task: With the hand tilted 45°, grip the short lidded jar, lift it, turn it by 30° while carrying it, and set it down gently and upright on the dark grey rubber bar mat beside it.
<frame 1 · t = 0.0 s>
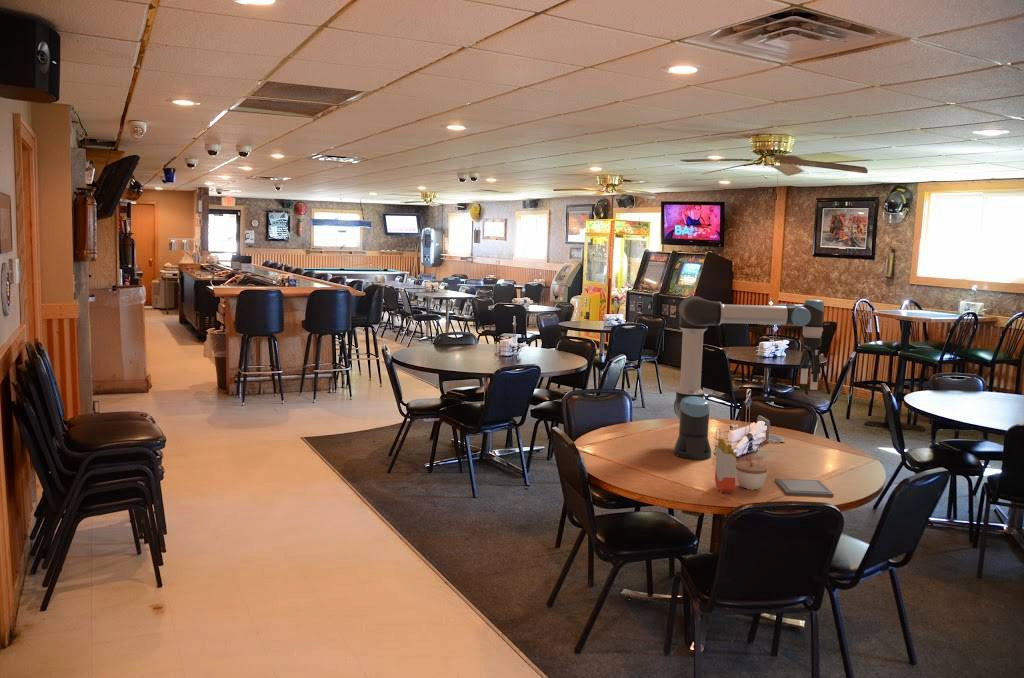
hand: (808, 386, 327), 28 cm above the table, tool pointing down, fingers open, 13 cm apart
lidded jar: (750, 487, 279), on the table
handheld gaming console: (770, 440, 349), on the table
bar mat: (803, 488, 278), on the table
french fries container: (724, 491, 274), on the table
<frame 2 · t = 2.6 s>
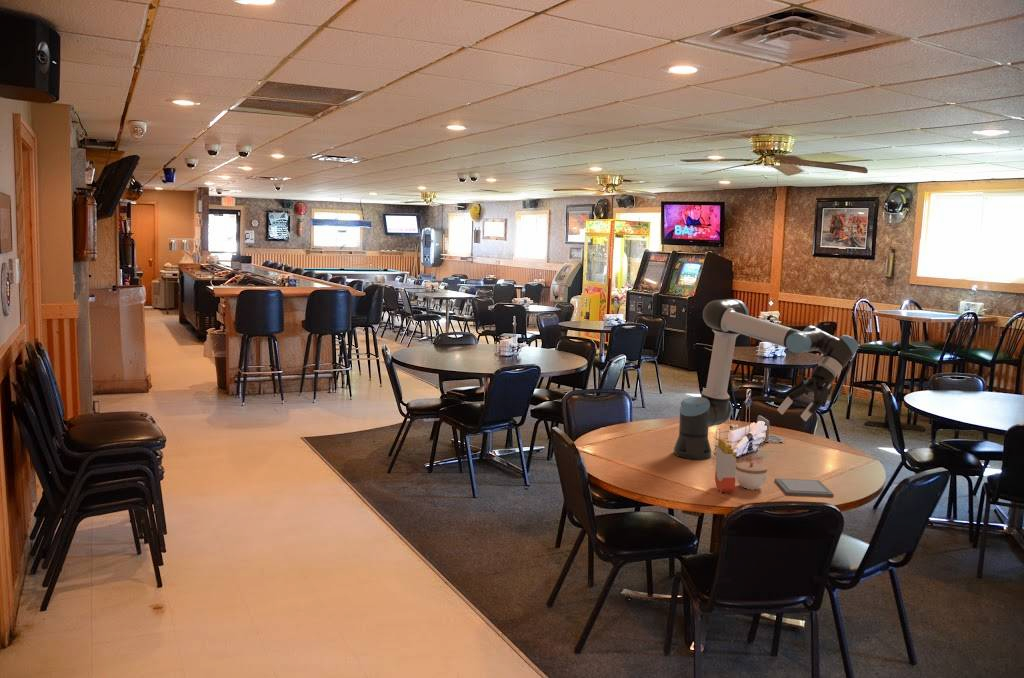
hand: (791, 415, 281), 26 cm above the table, tool tilted 45°, fingers open, 13 cm apart
nothing on the table moved.
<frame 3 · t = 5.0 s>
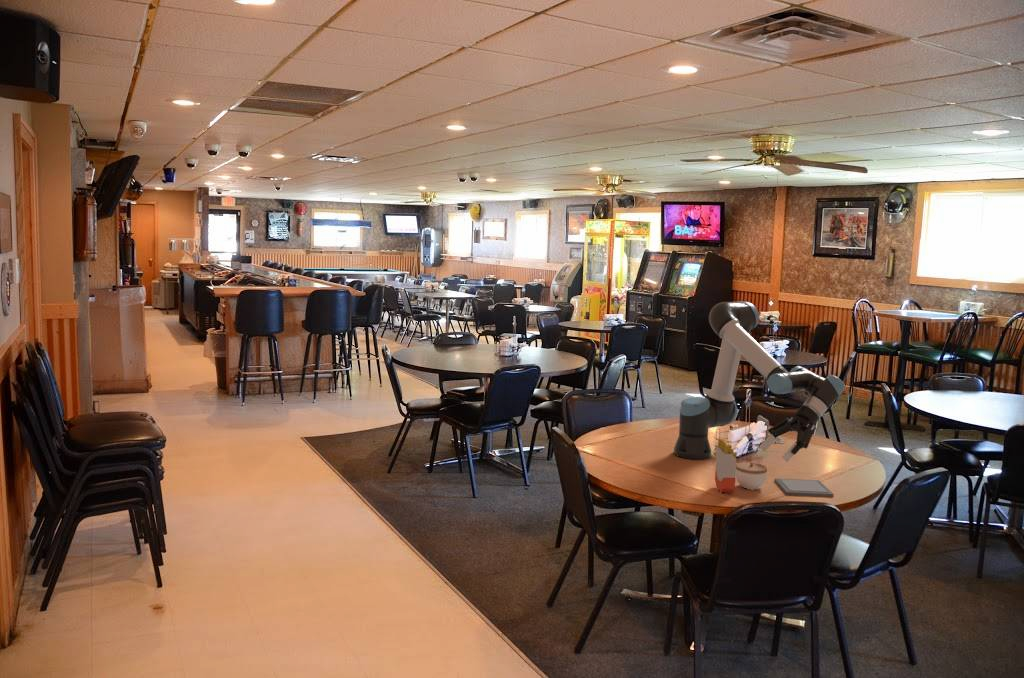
hand: (773, 454, 278), 12 cm above the table, tool tilted 45°, fingers open, 13 cm apart
nothing on the table moved.
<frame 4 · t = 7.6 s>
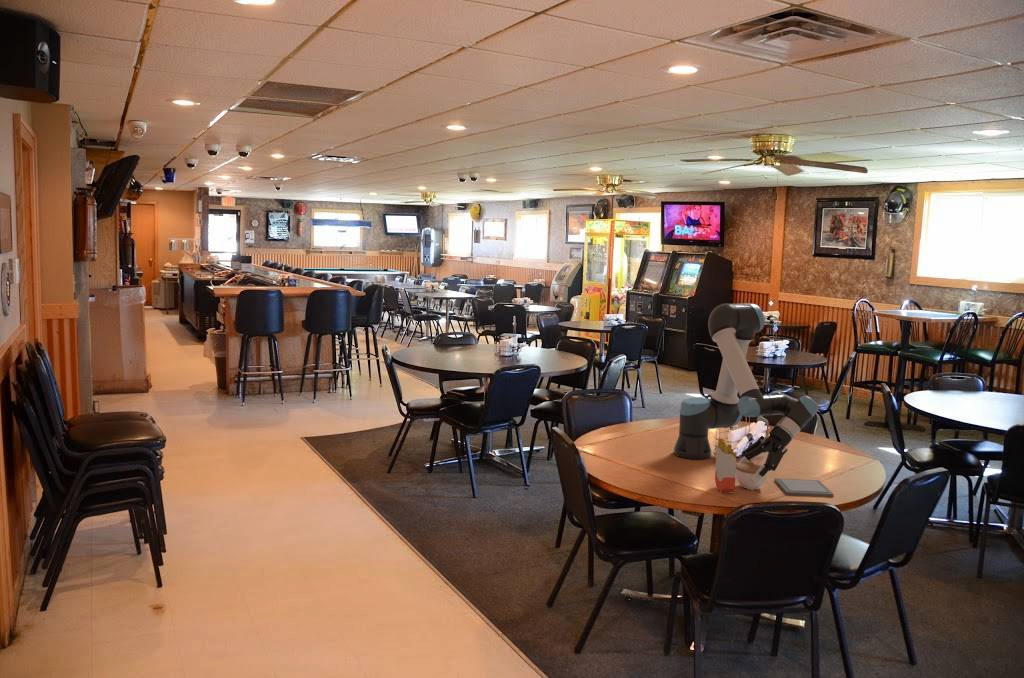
hand: (743, 476, 277), 4 cm above the table, tool tilted 45°, fingers closed on lidded jar, 11 cm apart
lidded jar: (750, 487, 279), on the table, touching gripper
everything else where it was.
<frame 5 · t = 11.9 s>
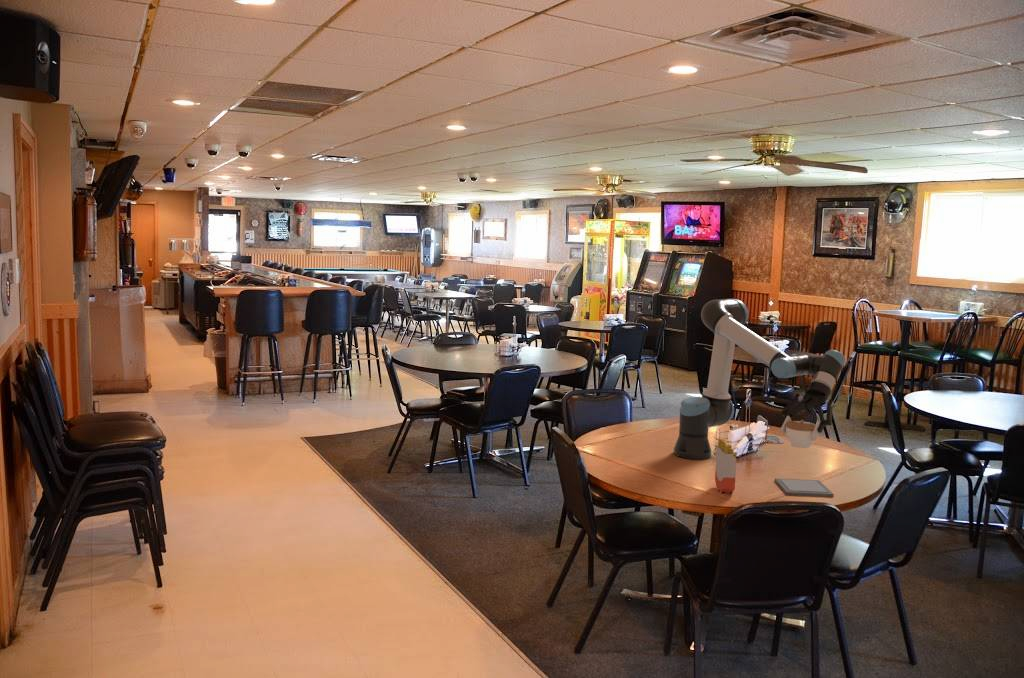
hand: (797, 435, 273), 20 cm above the table, tool tilted 45°, fingers closed on lidded jar, 11 cm apart
lidded jar: (800, 446, 276), point 16 cm above the table, touching gripper
everything else where it was.
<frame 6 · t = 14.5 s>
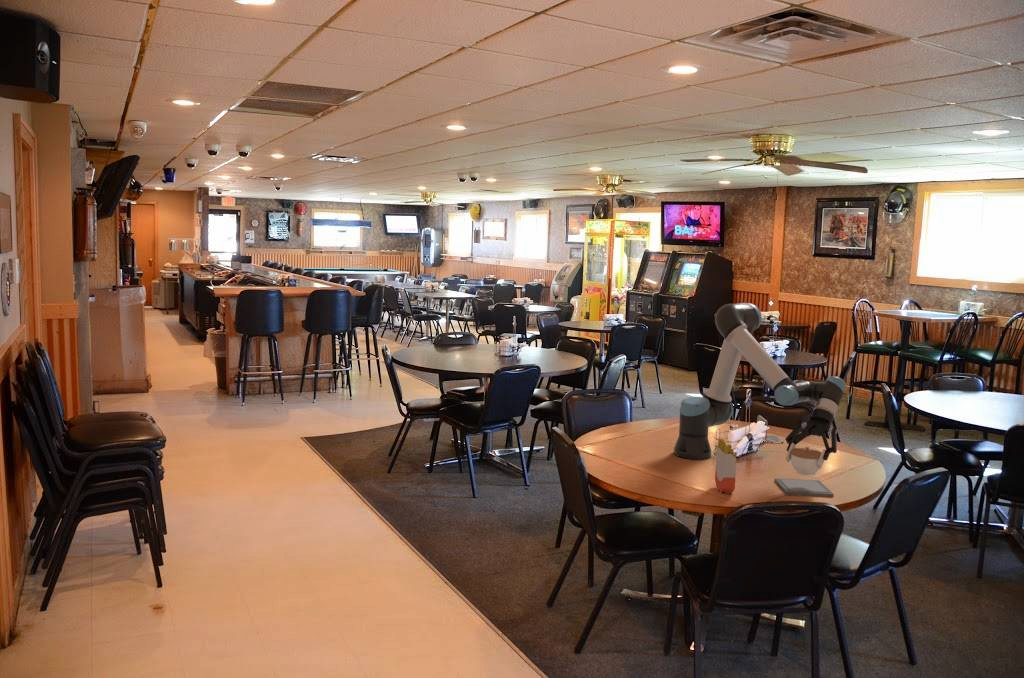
hand: (803, 463, 275), 10 cm above the table, tool tilted 45°, fingers closed on lidded jar, 11 cm apart
lidded jar: (805, 473, 277), point 6 cm above the table, touching gripper
everything else where it was.
when the fingers open (7 cm above the table, at t = 16.5 s): lidded jar drops 1 cm, resting on bar mat.
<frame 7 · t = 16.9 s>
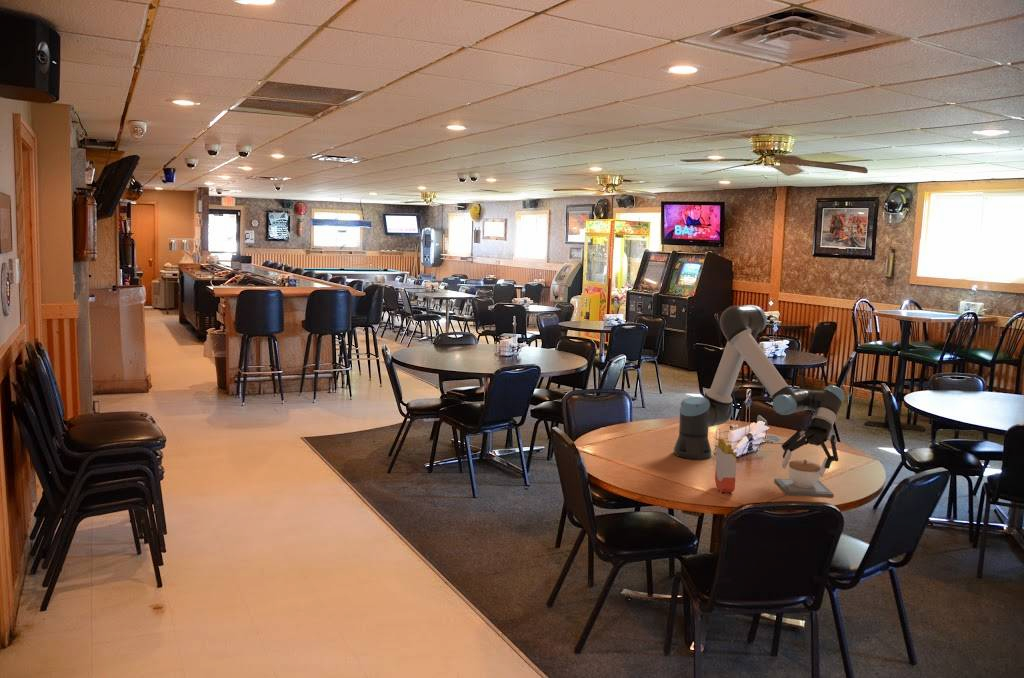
hand: (801, 470, 276), 7 cm above the table, tool tilted 45°, fingers open, 13 cm apart
lidded jar: (803, 485, 278), point 1 cm above the table, touching bar mat
everything else where it was.
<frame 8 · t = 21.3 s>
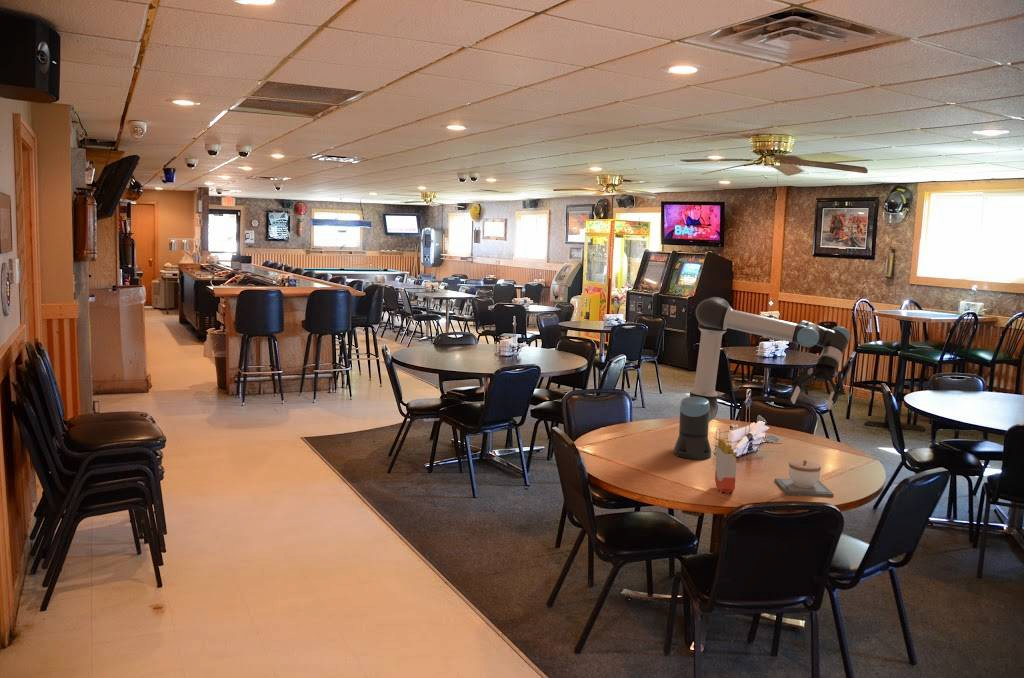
hand: (810, 404, 291), 28 cm above the table, tool tilted 45°, fingers open, 13 cm apart
nothing on the table moved.
at the end: lidded jar inside the target area on the bar mat (0.0 cm from its centre), point 1.0 cm above the bar mat's base; lidded jar tilted 0°; the gripper is holding nothing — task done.
